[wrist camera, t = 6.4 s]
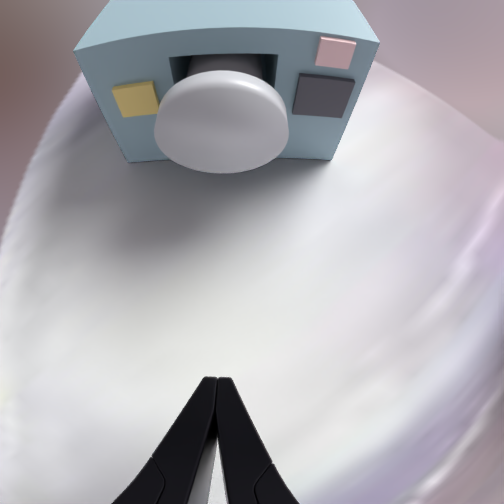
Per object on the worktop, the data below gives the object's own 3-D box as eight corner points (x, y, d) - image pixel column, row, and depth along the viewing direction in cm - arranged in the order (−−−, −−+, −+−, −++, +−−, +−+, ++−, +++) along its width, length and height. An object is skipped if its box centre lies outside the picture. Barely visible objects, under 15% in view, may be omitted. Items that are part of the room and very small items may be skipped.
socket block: (332, 163, 20) (381, 46, 10) (127, 166, 19) (70, 54, 10) (309, 58, 24) (327, -33, 14) (156, 60, 23) (136, -30, 14)
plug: (280, 173, 16) (298, 90, 10) (168, 175, 16) (139, 95, 10) (267, 35, 20) (272, -26, 15) (194, 36, 20) (187, -24, 14)
